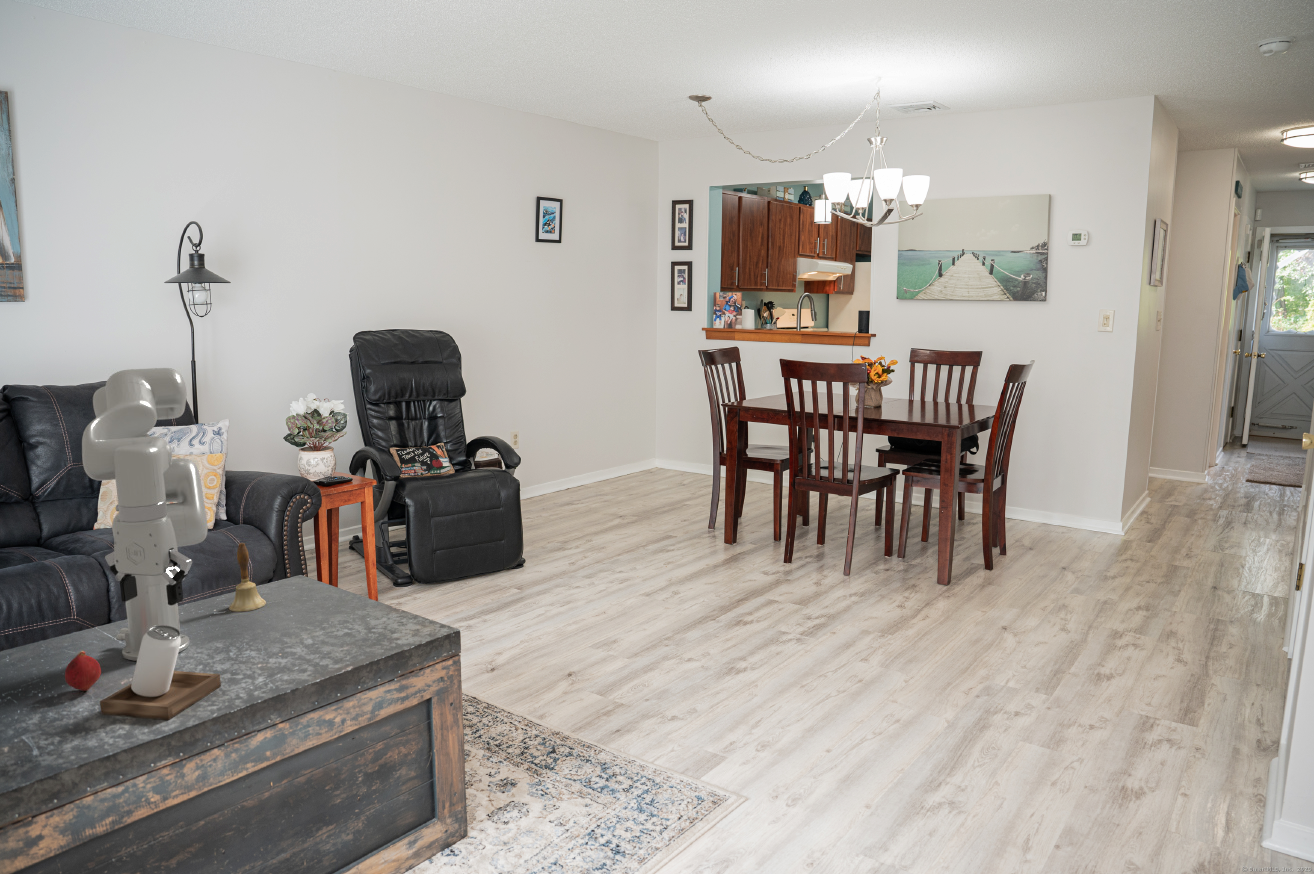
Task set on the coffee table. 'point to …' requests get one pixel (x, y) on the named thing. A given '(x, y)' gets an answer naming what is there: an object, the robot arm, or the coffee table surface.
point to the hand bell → (245, 586)
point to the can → (156, 661)
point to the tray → (162, 697)
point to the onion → (82, 672)
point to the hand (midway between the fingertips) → (152, 600)
